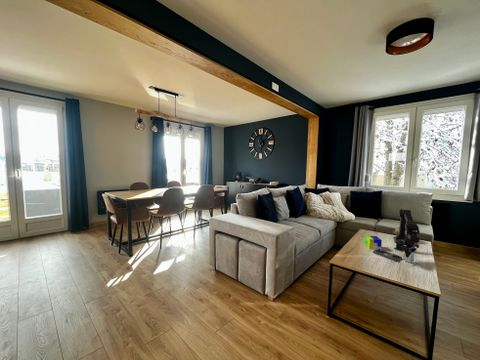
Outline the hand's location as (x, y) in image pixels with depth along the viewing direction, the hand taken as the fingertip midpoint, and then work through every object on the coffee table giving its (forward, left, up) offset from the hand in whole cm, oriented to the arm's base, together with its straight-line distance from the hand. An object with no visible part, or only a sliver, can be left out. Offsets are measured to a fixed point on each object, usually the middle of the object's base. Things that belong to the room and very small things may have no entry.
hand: (408, 256), depth 162 cm
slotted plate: (+3, -14, -5) cm, 15 cm away
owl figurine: (-53, -26, -5) cm, 59 cm away
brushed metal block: (0, 0, -3) cm, 3 cm away
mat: (0, 0, -5) cm, 5 cm away
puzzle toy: (-4, -30, -5) cm, 31 cm away
